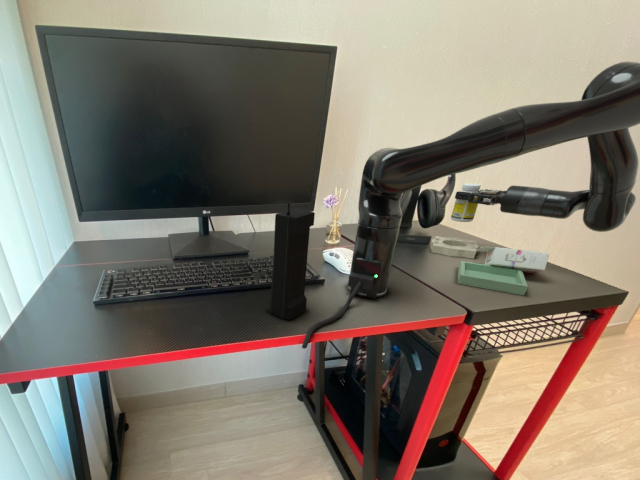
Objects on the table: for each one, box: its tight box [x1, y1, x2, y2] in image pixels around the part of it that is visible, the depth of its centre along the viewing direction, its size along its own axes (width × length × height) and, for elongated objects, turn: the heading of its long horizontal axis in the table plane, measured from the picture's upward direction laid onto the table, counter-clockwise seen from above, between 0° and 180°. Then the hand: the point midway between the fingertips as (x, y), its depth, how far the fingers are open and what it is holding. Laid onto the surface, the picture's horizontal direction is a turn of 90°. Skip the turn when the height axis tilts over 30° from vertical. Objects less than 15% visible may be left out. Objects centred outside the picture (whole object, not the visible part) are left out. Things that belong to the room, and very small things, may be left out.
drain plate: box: [429, 235, 479, 259], centre depth 109 cm, size 13×13×2 cm
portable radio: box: [268, 201, 316, 321], centre depth 69 cm, size 8×6×25 cm
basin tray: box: [457, 260, 529, 296], centre depth 86 cm, size 12×14×2 cm
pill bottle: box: [450, 183, 482, 223], centre depth 102 cm, size 6×6×11 cm
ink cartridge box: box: [476, 246, 550, 274], centre depth 90 cm, size 9×5×15 cm
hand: (460, 193), depth 102 cm, fingers closed on pill bottle, 6 cm apart
